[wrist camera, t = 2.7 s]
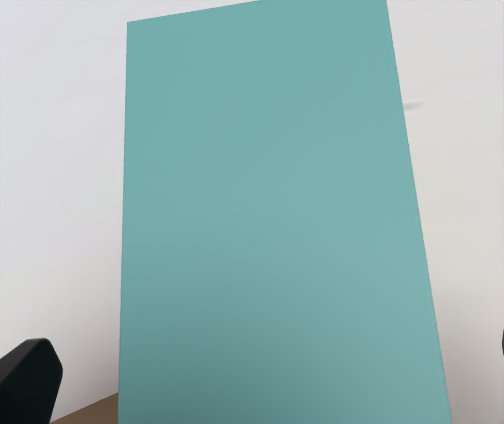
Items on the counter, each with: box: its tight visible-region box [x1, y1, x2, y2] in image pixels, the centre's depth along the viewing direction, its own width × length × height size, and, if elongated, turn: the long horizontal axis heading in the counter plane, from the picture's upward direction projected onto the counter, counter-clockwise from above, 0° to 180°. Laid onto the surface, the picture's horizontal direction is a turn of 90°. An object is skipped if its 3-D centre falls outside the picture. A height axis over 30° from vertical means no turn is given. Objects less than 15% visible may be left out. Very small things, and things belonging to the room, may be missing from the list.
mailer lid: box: [118, 0, 452, 424], centre depth 12 cm, size 13×7×4 cm, turn 3°
